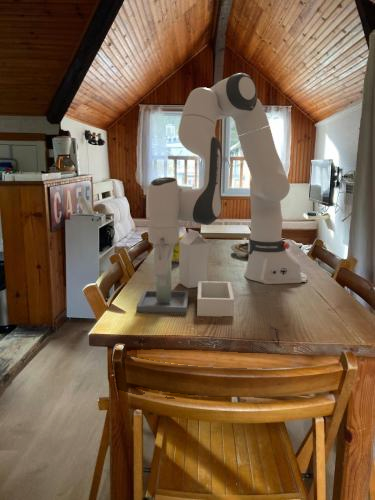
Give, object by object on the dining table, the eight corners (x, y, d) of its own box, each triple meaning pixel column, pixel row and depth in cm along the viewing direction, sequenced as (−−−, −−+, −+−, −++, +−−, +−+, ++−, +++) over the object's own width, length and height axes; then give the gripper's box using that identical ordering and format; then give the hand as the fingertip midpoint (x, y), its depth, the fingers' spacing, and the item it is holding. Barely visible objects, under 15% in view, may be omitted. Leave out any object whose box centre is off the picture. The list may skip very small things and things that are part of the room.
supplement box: (166, 262, 165) (166, 236, 162) (172, 259, 170) (172, 234, 168) (179, 263, 163) (179, 238, 160) (185, 260, 168) (185, 235, 165)
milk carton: (188, 288, 131) (188, 233, 127) (178, 283, 137) (179, 229, 133) (206, 285, 134) (207, 231, 130) (196, 280, 140) (197, 228, 136)
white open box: (229, 297, 124) (230, 281, 123) (233, 316, 108) (234, 299, 107) (198, 296, 124) (198, 281, 123) (197, 315, 108) (197, 298, 107)
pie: (290, 264, 166) (291, 252, 164) (226, 264, 166) (226, 252, 165) (277, 249, 193) (278, 239, 192) (221, 249, 194) (222, 239, 192)
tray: (188, 297, 123) (188, 291, 123) (186, 314, 110) (186, 307, 109) (144, 296, 124) (143, 290, 123) (136, 313, 110) (136, 306, 110)
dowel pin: (171, 297, 118) (171, 259, 116) (170, 302, 114) (170, 262, 111) (157, 297, 119) (157, 258, 116) (155, 302, 114) (155, 262, 112)
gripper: (172, 243, 102) (172, 293, 105) (177, 229, 122) (177, 272, 125) (147, 242, 102) (148, 293, 105) (156, 229, 122) (157, 272, 125)
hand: (164, 281), depth 115 cm, fingers closed on dowel pin, 4 cm apart
